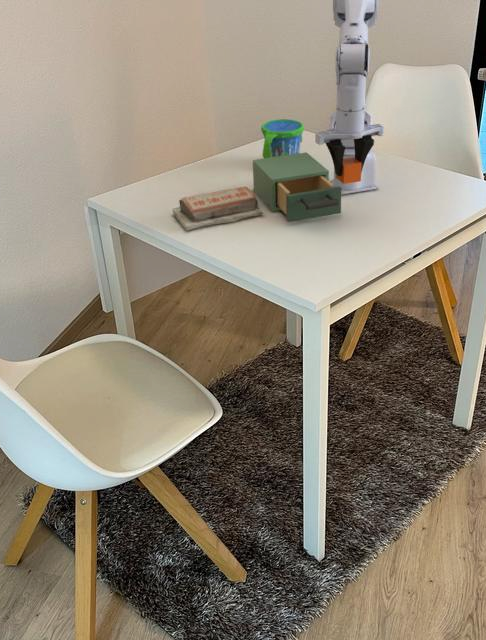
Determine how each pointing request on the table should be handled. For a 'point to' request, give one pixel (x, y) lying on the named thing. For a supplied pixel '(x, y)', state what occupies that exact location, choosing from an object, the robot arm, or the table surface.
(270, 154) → the snack cup
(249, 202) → the packaged product
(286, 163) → the small green cabinet
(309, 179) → the drawer
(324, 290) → the table surface
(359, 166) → the cube
